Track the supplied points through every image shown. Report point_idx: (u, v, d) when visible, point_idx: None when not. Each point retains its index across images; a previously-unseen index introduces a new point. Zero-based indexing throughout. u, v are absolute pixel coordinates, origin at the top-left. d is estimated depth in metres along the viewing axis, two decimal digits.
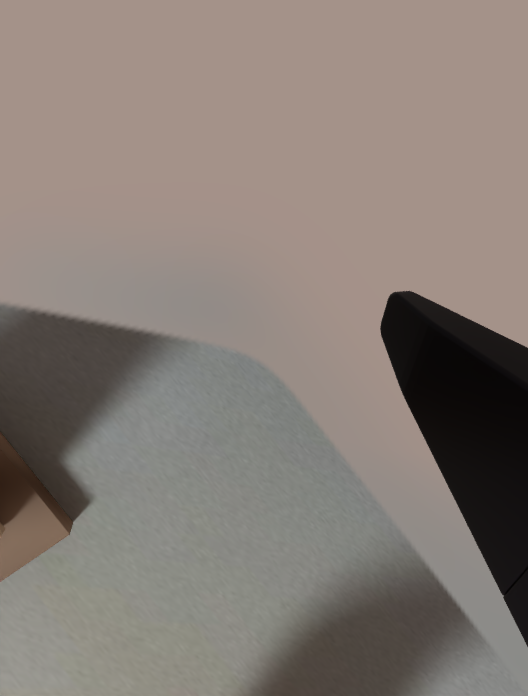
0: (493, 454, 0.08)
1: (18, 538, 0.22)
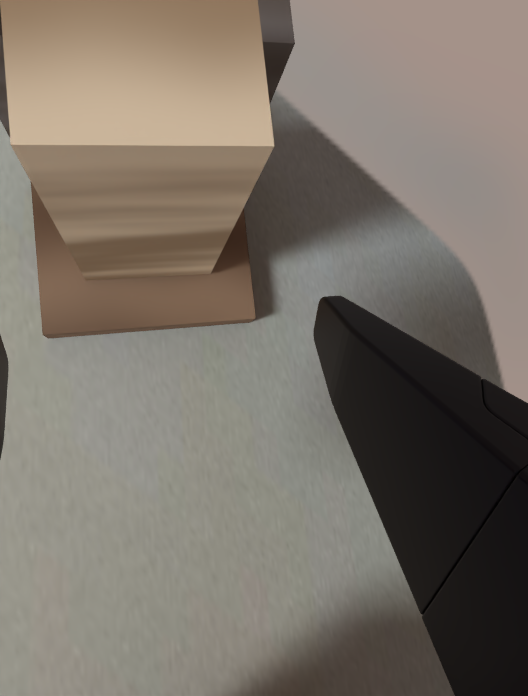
0: (407, 468, 0.07)
1: (211, 294, 0.21)
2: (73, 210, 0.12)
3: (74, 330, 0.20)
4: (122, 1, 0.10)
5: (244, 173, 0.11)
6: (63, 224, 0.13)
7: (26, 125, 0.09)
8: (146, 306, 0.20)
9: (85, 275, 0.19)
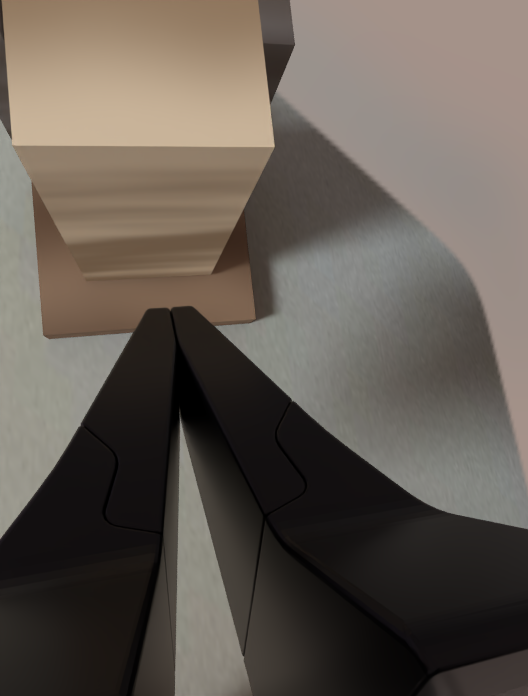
0: (218, 498, 0.07)
1: (211, 294, 0.21)
2: (74, 210, 0.12)
3: (74, 331, 0.20)
4: (123, 3, 0.10)
5: (245, 174, 0.11)
6: (64, 224, 0.13)
7: (28, 126, 0.09)
8: (146, 307, 0.20)
9: (86, 276, 0.19)
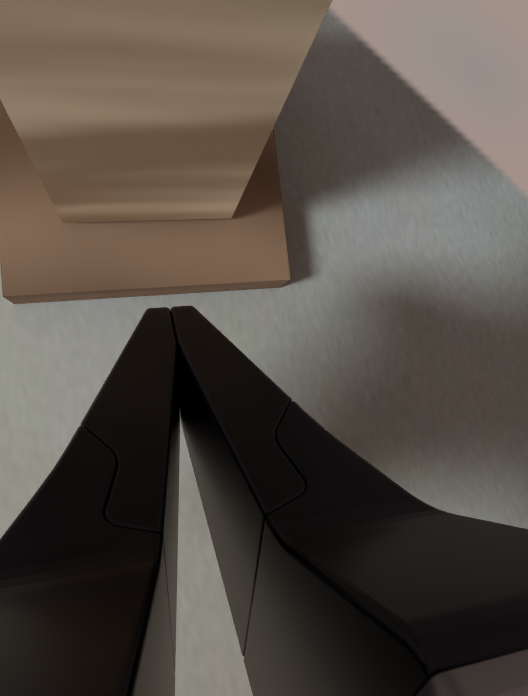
0: (218, 498, 0.07)
1: (232, 246, 0.16)
2: (16, 40, 0.07)
3: (46, 291, 0.14)
4: None
5: None
6: (7, 82, 0.08)
7: None
8: (145, 260, 0.15)
9: (60, 212, 0.14)
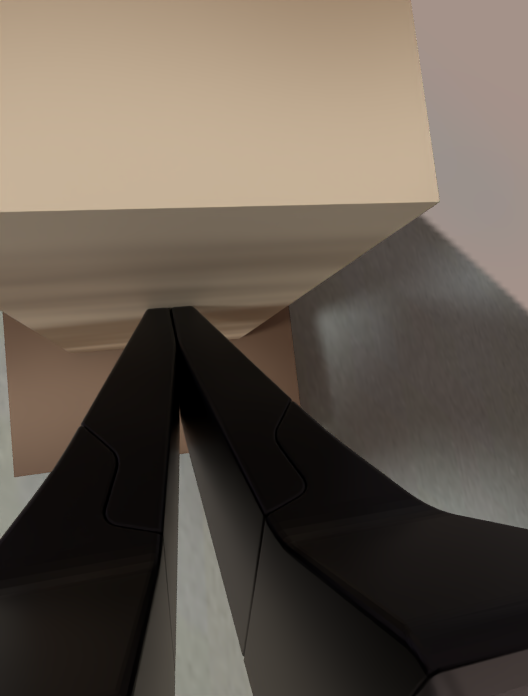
0: (218, 498, 0.07)
1: None
2: (33, 299, 0.07)
3: None
4: None
5: (351, 244, 0.06)
6: (22, 313, 0.08)
7: None
8: None
9: (69, 350, 0.14)
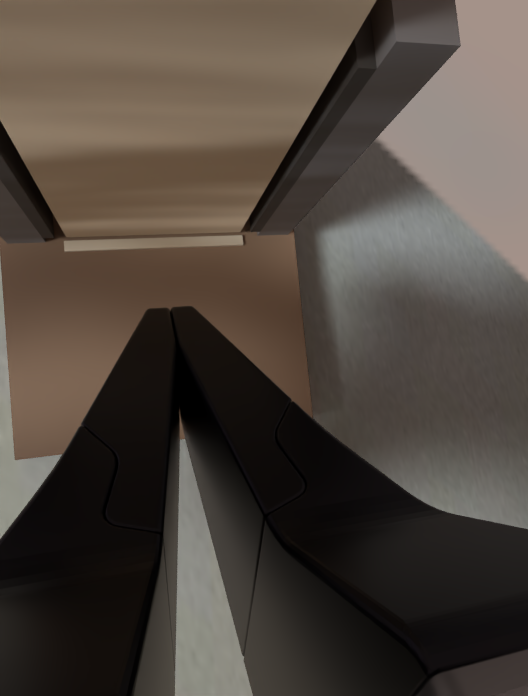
0: (218, 498, 0.07)
1: None
2: (19, 68, 0.07)
3: (60, 451, 0.14)
4: None
5: None
6: (9, 107, 0.07)
7: None
8: None
9: (64, 228, 0.13)
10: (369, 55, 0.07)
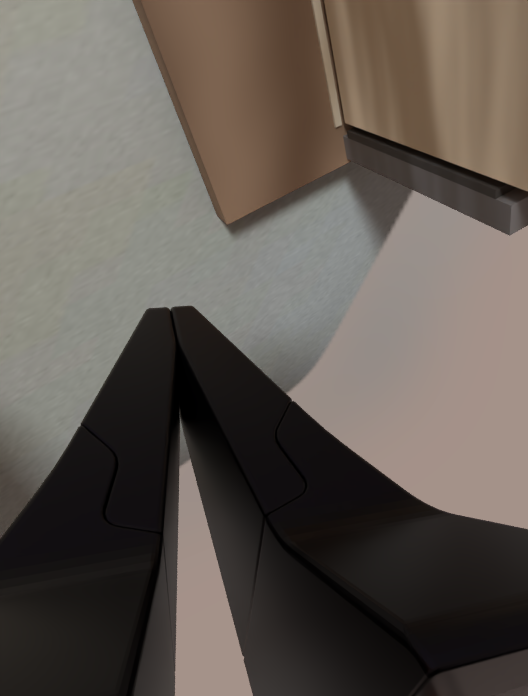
0: (218, 498, 0.07)
1: (238, 172, 0.20)
2: (489, 1, 0.12)
3: (152, 24, 0.16)
4: None
5: None
6: None
7: None
8: (206, 105, 0.18)
9: None
10: (501, 193, 0.14)
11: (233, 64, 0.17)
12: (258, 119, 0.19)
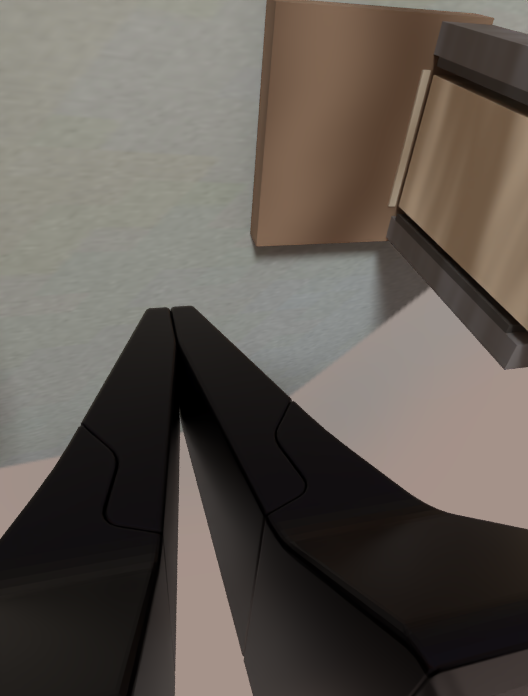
0: (218, 498, 0.07)
1: (287, 205, 0.20)
2: None
3: (275, 45, 0.16)
4: None
5: None
6: None
7: None
8: (287, 135, 0.18)
9: (444, 83, 0.17)
10: (512, 330, 0.15)
11: (327, 112, 0.18)
12: (326, 168, 0.20)
